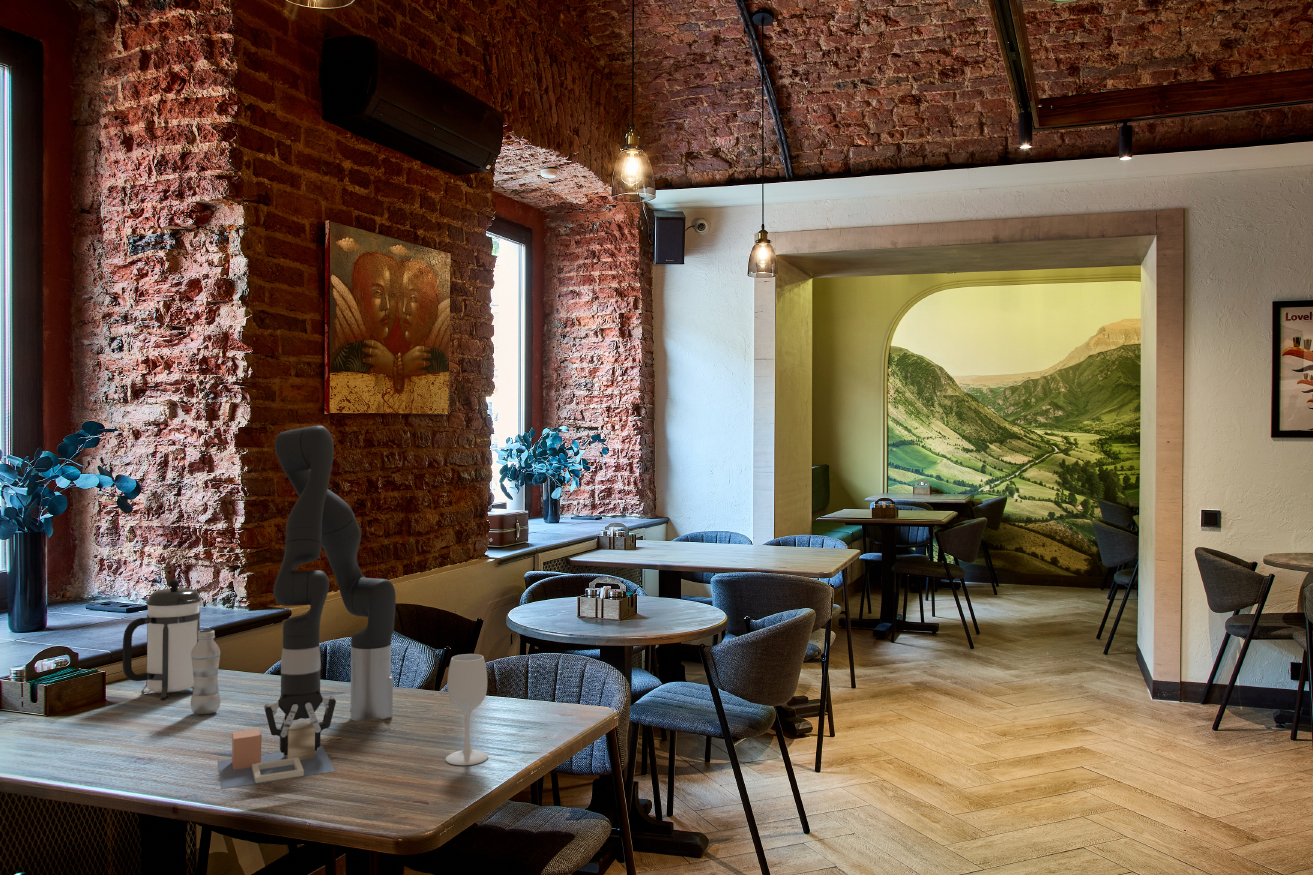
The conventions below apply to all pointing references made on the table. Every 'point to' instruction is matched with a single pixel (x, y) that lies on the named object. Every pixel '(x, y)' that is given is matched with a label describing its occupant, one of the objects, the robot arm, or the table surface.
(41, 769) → the table surface
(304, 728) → the birch block
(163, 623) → the coffee press
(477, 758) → the wineglass
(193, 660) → the plastic bottle
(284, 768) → the grey board
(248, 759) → the terracotta block
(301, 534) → the robot arm
